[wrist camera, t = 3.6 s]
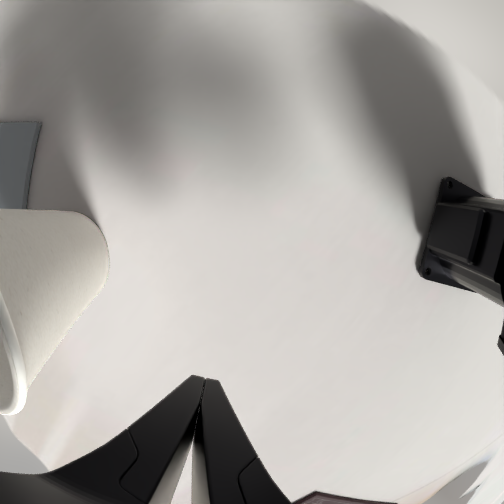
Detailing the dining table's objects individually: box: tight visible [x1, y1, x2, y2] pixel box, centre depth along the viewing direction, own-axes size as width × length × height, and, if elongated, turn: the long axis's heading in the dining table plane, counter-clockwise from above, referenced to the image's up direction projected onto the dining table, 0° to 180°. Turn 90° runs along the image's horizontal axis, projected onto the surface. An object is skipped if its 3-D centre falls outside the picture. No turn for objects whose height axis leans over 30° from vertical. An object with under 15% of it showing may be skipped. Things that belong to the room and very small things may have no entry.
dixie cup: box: [0, 209, 110, 415], centre depth 10 cm, size 8×8×10 cm
